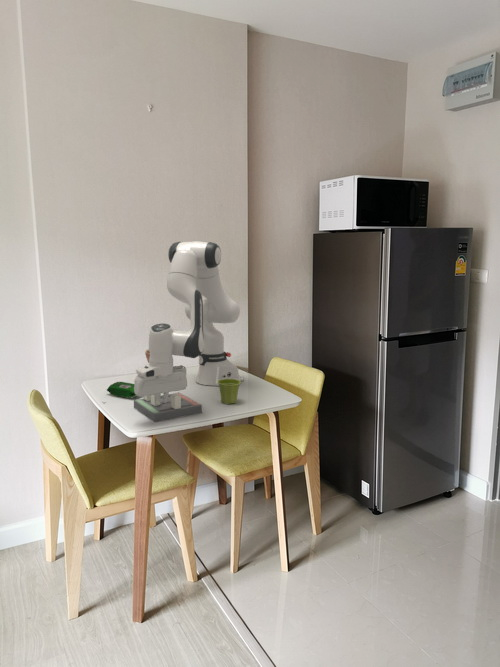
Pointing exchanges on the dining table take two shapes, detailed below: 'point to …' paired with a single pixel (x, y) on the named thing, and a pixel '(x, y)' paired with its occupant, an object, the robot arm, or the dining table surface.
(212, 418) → the dining table surface
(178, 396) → the block
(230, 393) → the plant pot
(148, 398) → the inner breaker
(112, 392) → the snack package
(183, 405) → the panel
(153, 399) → the block
